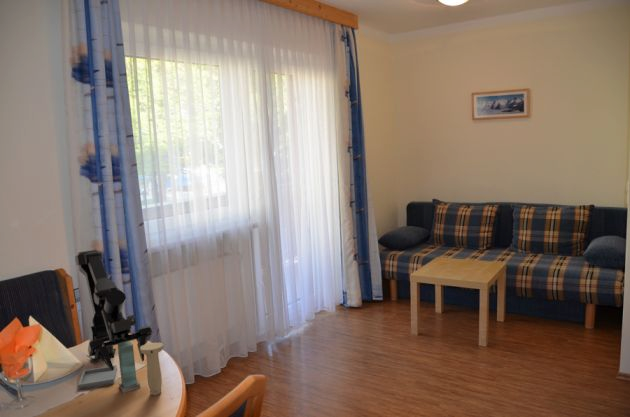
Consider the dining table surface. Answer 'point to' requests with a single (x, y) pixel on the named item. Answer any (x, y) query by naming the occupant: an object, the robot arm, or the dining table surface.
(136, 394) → the dining table surface
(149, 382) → the handle
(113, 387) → the dining table surface
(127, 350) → the teal green tall block
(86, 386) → the tray
